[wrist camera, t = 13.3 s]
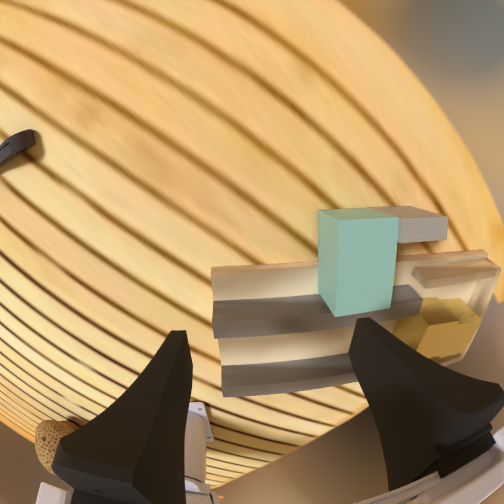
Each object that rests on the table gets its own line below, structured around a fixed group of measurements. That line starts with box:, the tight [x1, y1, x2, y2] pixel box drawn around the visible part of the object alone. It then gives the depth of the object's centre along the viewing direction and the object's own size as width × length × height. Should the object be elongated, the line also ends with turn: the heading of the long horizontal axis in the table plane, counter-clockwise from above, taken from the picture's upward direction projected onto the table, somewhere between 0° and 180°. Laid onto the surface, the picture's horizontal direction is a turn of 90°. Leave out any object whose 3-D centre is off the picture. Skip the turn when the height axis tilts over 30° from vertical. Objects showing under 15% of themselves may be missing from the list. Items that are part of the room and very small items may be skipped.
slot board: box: [211, 250, 501, 397], centre depth 23 cm, size 13×27×4 cm, turn 91°
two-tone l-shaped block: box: [318, 206, 448, 317], centre depth 18 cm, size 5×8×6 cm
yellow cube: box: [438, 298, 482, 358], centre depth 22 cm, size 4×4×4 cm
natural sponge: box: [35, 420, 79, 475], centre depth 25 cm, size 9×9×10 cm
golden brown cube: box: [392, 297, 459, 358], centre depth 21 cm, size 4×4×4 cm
